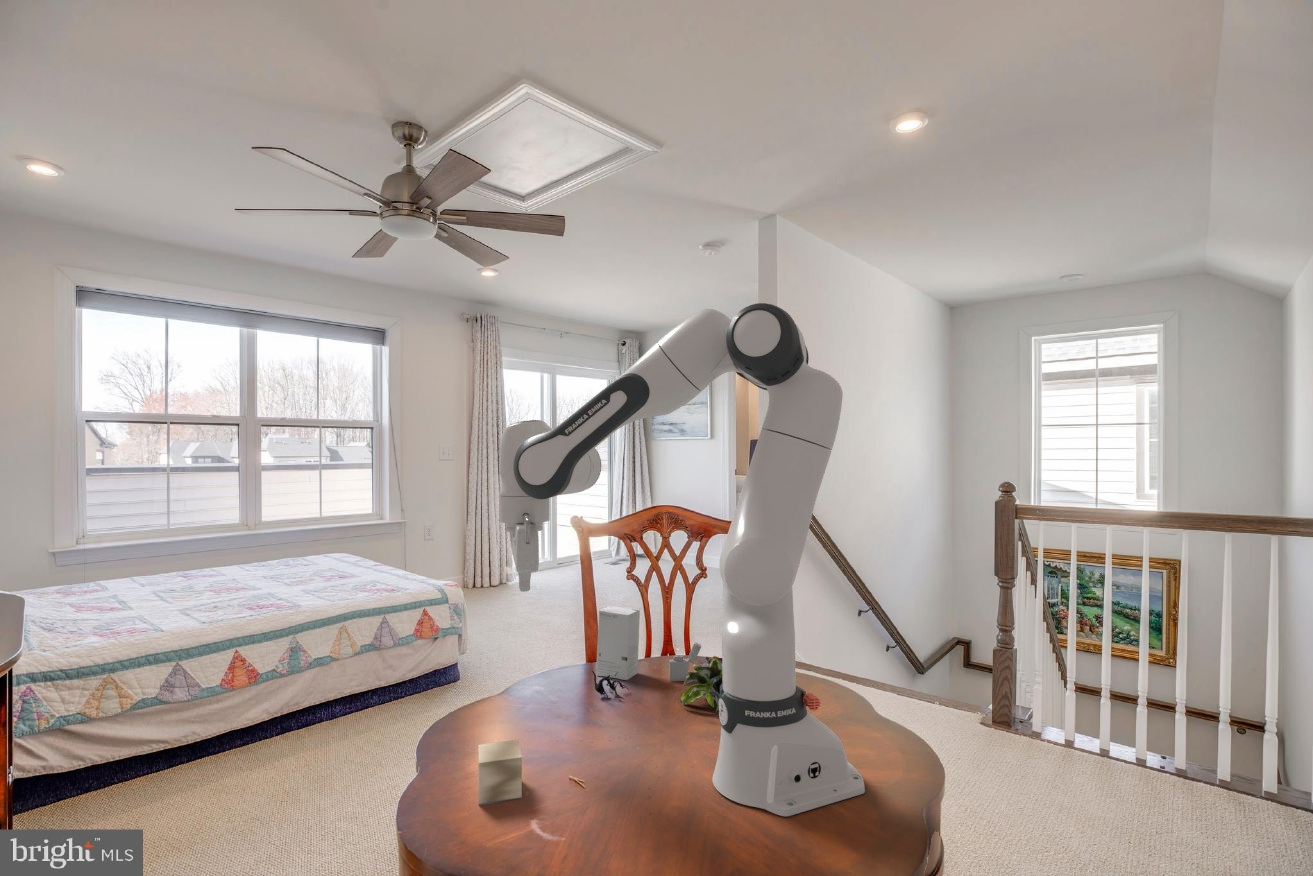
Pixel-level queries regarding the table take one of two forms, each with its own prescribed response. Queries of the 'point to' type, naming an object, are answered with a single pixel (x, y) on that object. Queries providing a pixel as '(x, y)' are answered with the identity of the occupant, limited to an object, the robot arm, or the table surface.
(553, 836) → the table surface
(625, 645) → the skincare box
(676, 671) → the lighter
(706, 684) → the green leafy plant
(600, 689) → the creature
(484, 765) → the maple cube
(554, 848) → the table surface
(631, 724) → the table surface
